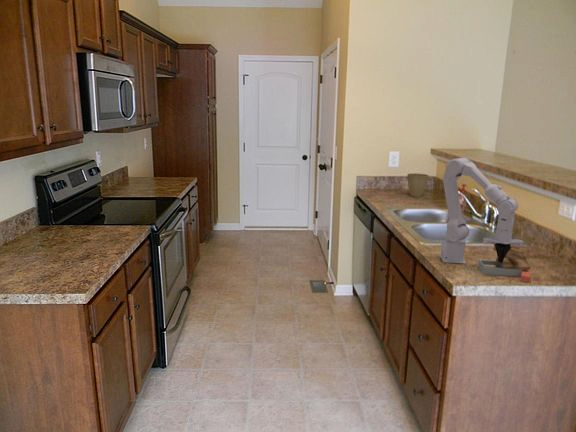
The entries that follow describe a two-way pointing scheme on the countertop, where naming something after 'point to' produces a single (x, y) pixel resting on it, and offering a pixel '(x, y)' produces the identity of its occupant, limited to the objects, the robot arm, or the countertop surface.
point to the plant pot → (417, 183)
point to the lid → (513, 263)
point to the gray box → (497, 269)
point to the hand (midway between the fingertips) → (500, 261)
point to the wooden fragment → (516, 255)
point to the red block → (525, 275)
